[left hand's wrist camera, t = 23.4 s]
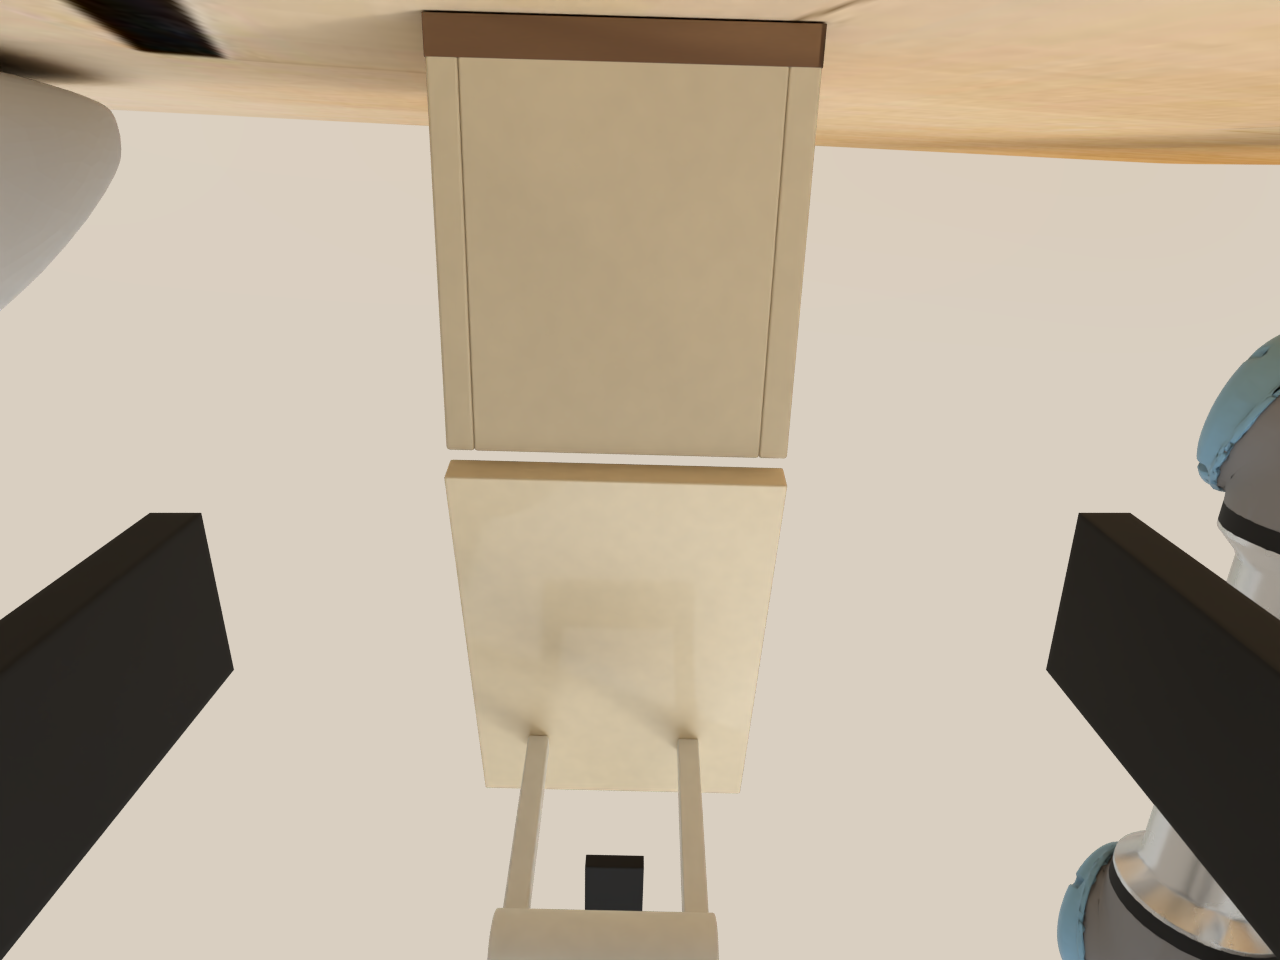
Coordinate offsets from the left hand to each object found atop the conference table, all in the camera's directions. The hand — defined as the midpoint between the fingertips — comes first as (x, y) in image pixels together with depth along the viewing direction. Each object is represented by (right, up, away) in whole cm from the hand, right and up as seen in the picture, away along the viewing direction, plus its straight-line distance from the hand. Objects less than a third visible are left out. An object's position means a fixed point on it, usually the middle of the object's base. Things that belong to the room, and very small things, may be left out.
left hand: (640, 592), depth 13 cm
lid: (-1, -3, +14) cm, 15 cm away
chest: (0, +14, +12) cm, 19 cm away
